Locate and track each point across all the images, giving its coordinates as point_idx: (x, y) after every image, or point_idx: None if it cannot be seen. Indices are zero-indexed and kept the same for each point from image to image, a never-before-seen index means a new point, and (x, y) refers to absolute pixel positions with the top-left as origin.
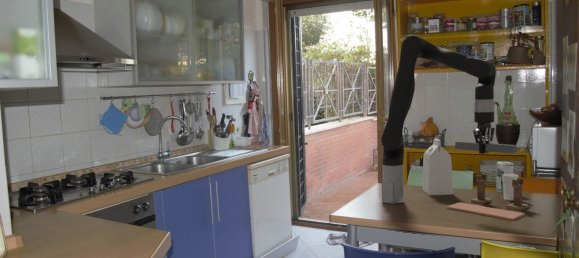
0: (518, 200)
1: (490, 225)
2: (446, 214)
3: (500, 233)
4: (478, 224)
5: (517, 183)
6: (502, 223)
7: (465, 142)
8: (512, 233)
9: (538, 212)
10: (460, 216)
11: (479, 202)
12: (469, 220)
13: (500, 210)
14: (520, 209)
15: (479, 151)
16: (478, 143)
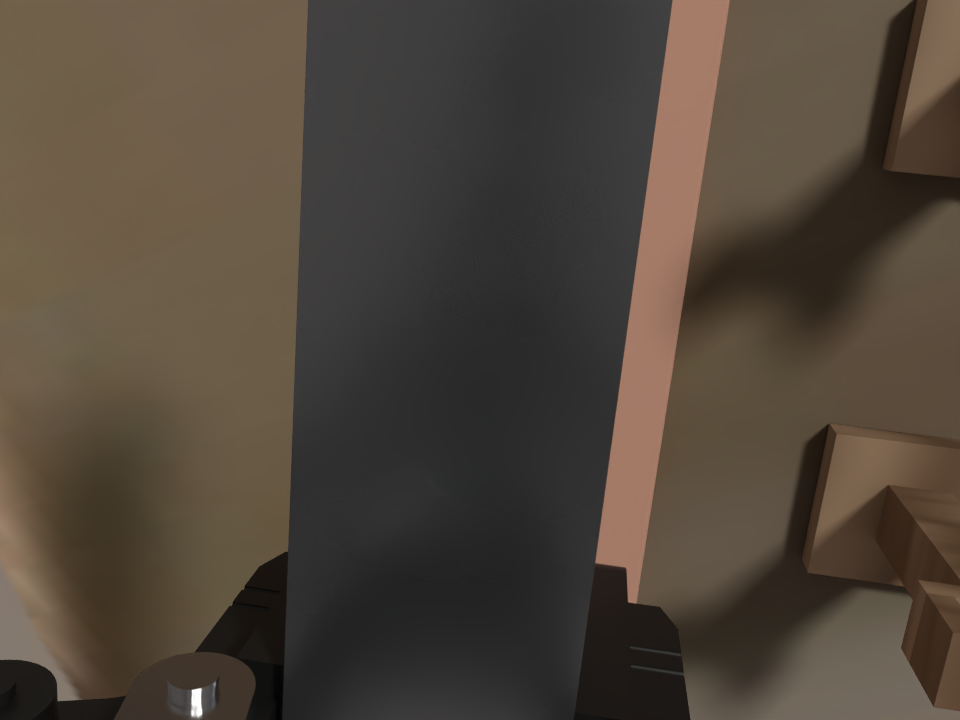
0: (895, 558)
1: (163, 483)
2: (232, 23)
3: (27, 598)
4: (125, 399)
5: (919, 673)
6: (276, 540)
7: (348, 31)
8: (83, 661)
9: (814, 689)
10: (253, 171)
11: (896, 114)
12: (185, 293)
13: (621, 431)
14: (803, 556)
15: (269, 568)
16: (83, 708)
